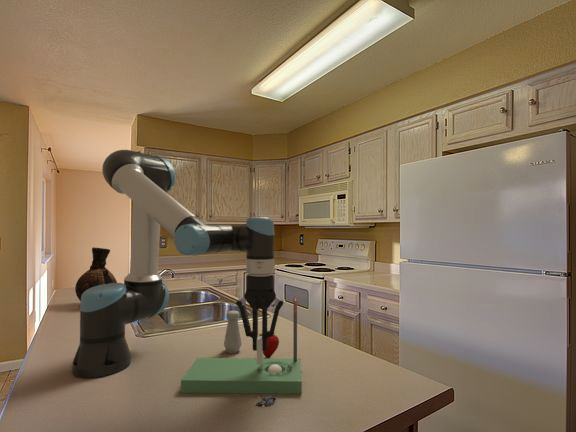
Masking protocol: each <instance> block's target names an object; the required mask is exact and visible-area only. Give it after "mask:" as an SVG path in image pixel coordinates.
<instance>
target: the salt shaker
mask: <svg viewBox="0 0 576 432" xmlns="http://www.w3.org/2000/svg"><path fill="white" fill-rule="evenodd" d="M240 315H241V313H240V311H238V310H229V311H227V312H226V319H227V325H226V331H225V337H224V342H223V346H224V348H225V351H226V352H227V353H228V354H236V353H238V352H239V351H240V349H241V347H242V344H243V343H242V337H241V331H240V326H239V319H240V317H241V316H240Z"/></svg>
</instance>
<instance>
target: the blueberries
mask: <svg viewBox="0 0 576 432" xmlns="http://www.w3.org/2000/svg"><path fill="white" fill-rule="evenodd" d="M261 397H262V398H261V401H258V402H256V404H255V405H254V406H255V407H257V406H258V408H268V407H269V408H270V407H271V405H272V406H273V405H274V404H275V401H277V399H276V396H274V395H272V396H270V395H267V396H263V395H262V396H261ZM257 398H259V399H260V396H257Z"/></svg>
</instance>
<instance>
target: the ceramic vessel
mask: <svg viewBox="0 0 576 432" xmlns="http://www.w3.org/2000/svg"><path fill="white" fill-rule="evenodd" d="M91 252H92V262H91V265H90V266H89V269H88V270H86V271H85V272H84V273H83V274H82V275H81V276H80V277H78V279H77V281H76V283H75V289H74V290H75V295H76V297H77V299H78V300H79V302H81V296H82V294H83V293H84V292H85V291H86V290H87V289H89V288H92V287H95V286H98V285H102V284H109V283H118V281H117V279H116V276H114V274H113V273H112V272H111V271H110V270H109V269H108V268H106V266H107V258H108V256H109V254H110V252H111V249H109V248H102V247H94V246H93V247H92V248H91Z"/></svg>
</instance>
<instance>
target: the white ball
mask: <svg viewBox="0 0 576 432" xmlns="http://www.w3.org/2000/svg"><path fill="white" fill-rule="evenodd" d="M281 372H282V368H281V367H280V366H279V365H277V364H274V365H271V366H270V367H269V369H268V373H281Z"/></svg>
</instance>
